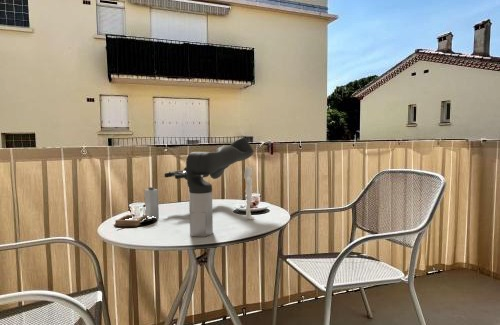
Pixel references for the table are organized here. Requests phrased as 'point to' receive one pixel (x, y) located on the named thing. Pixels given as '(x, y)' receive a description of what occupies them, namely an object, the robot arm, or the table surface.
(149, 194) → the grey rectangular block
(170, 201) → the table surface
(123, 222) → the tray
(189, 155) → the robot arm
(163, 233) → the table surface
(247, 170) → the character figure
